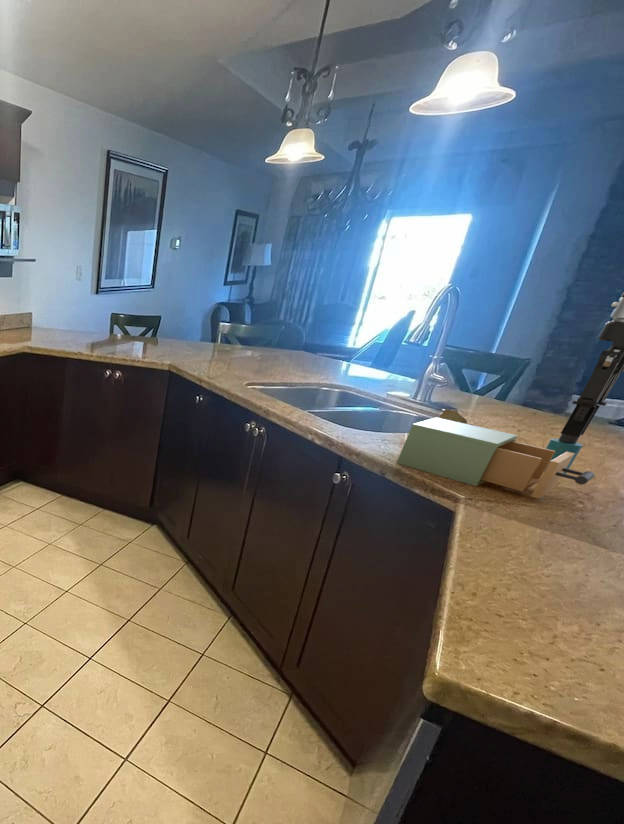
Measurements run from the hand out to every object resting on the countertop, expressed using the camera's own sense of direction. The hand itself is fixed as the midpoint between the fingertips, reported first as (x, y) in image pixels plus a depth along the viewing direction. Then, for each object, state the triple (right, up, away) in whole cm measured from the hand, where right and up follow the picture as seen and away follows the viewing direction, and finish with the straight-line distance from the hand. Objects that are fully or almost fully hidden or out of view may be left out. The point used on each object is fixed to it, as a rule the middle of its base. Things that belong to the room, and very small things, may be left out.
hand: (571, 433), depth 106 cm
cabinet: (-20, -8, +8) cm, 23 cm away
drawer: (-14, -11, -1) cm, 18 cm away
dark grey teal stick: (0, -8, +4) cm, 9 cm away
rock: (-6, -2, +23) cm, 24 cm away
